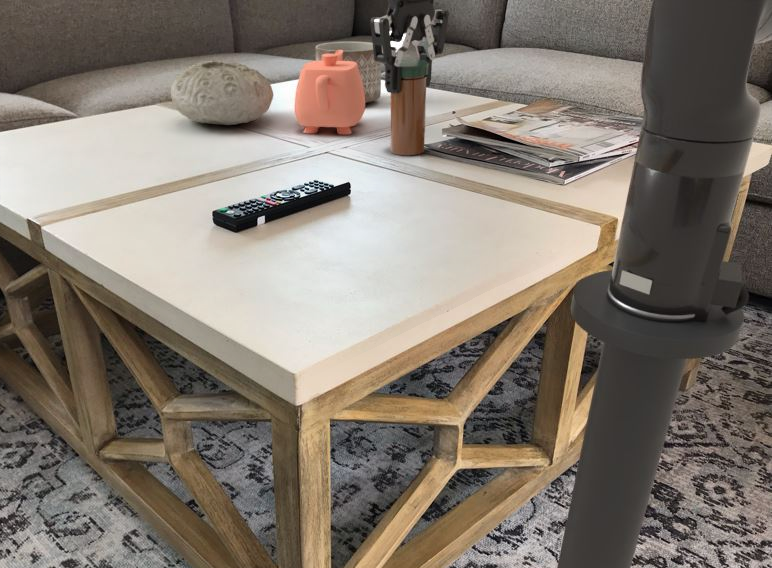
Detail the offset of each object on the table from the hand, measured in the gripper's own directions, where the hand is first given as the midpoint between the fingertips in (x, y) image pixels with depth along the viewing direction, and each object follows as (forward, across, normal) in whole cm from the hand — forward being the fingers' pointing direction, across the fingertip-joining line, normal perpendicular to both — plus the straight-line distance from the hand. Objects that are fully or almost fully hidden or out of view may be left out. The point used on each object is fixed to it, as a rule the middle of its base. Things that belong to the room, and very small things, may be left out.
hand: (408, 88), depth 109 cm
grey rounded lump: (+9, -10, +35) cm, 38 cm away
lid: (-3, 0, 0) cm, 3 cm away
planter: (+10, +18, +33) cm, 38 cm away
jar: (+9, 0, 0) cm, 9 cm away
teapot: (+9, +2, +20) cm, 22 cm away
